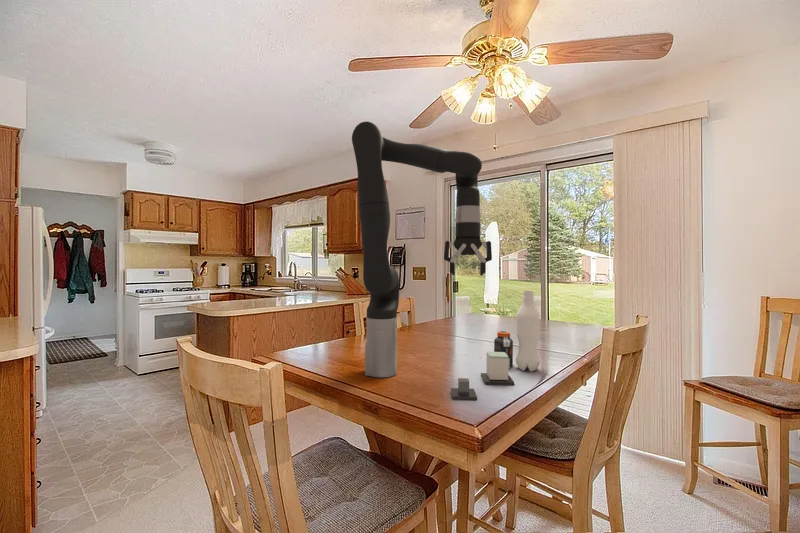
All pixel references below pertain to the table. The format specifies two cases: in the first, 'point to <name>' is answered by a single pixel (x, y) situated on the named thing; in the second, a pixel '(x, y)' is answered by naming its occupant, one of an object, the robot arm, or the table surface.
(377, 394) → the table surface
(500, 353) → the cream upright block
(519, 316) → the water bottle
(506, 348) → the pill bottle
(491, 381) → the tall post
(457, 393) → the short post
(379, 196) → the robot arm
